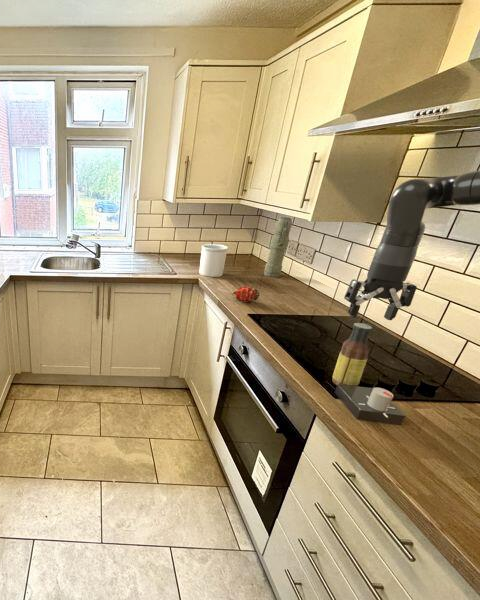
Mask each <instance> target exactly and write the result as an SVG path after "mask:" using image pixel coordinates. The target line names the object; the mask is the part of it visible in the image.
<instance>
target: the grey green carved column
mask: <svg viewBox="0 0 480 600" xmlns="http://www.w3.org/2000/svg"><path fill="white" fill-rule="evenodd" d="M292 225H293V219H292V218H291V217H284V216H282V217H279V218H278V220H277V222H276V225H275V228H274V229H275V230H274V231H275V232H274V233H273V236H272V237H271V241H270V246H269V248H270V249H269V253H268V257H267V262H266V263H265V265H264V272H263V276H265V277H267V278H273V279H274V278H275V279H276V278H277V279H278V278H280V276H281V273H282V269H283V261H284V259H285V254H286V250H287V249H288V245H289V242H290V232H291V230H292Z"/></svg>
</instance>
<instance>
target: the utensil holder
mask: <svg viewBox="0 0 480 600" xmlns="http://www.w3.org/2000/svg"><path fill="white" fill-rule="evenodd" d="M228 250H229V247H228V246H226V245H224V244H218V243H205V244H202V245H201V253H200V261H199V272H198V273H199V275H201V276H203V277H210V278H219V277H222V276H223V274H224V269H225V265H226V264H225V263H226V258H227V253H228Z"/></svg>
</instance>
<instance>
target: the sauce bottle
mask: <svg viewBox="0 0 480 600" xmlns="http://www.w3.org/2000/svg"><path fill="white" fill-rule="evenodd" d="M352 325H353V326H352V330H351V334H350V336H349V338H347V339H346V340H344V341H343V343H342V346H341V350H340V351H339V354H338V358H337V360H336V364H335V367H334V370H333V373H332V383H333V384H334V385H336V386H337V385H338V384H341V385H350V386H358V387H359V385H360V382H361V380H362V376H363V374H364V370H365V367H366V365H367V361H368V359H369V355H370V348H369V343H368V341H369V337H370V334H371V333H372V331H373V327H372V326H371V325H370V324H367V323H362V322H355V323H354V324H352Z"/></svg>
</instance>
